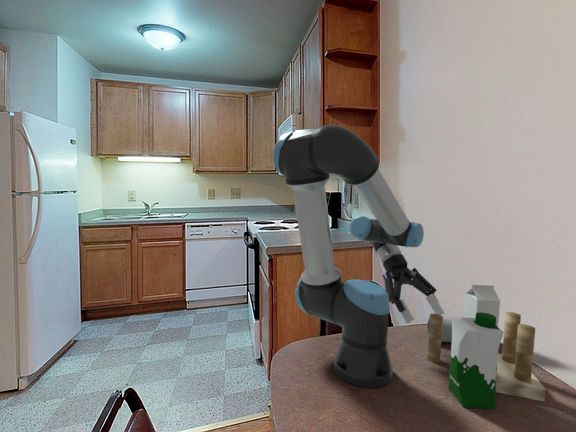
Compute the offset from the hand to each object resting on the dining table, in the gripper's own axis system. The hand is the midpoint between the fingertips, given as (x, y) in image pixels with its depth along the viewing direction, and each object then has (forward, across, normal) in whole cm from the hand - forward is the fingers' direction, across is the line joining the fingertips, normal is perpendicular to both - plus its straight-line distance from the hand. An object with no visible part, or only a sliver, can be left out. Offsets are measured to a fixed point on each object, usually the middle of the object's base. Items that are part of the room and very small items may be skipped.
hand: (426, 318), depth 96 cm
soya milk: (+22, +10, +8) cm, 25 cm away
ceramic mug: (+5, -12, -10) cm, 17 cm away
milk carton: (+10, -23, -5) cm, 25 cm away
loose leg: (+11, +2, -4) cm, 12 cm away
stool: (+20, -6, +6) cm, 21 cm away
